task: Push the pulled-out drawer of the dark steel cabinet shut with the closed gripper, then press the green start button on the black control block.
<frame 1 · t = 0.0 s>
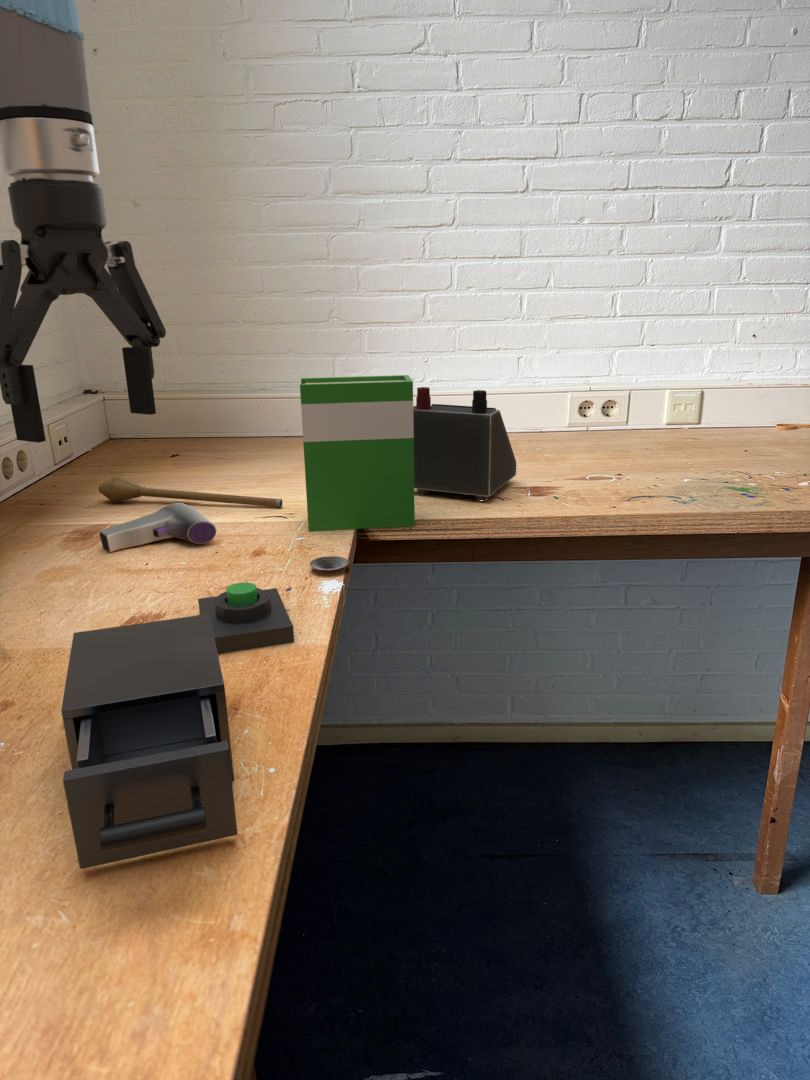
hand: (91, 426, 76), 28 cm above the table, tool pointing down, fingers open, 13 cm apart
control block: (245, 628, 98), on the table
green cereal box: (361, 522, 136), on the table
drawer: (153, 773, 63), point 5 cm above the table, slide at 7.0 cm
small grey dish: (329, 571, 115), on the table
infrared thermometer: (160, 546, 127), on the table
panzerfaust: (190, 505, 147), on the table
start button: (241, 594, 96), point 4 cm above the table, slide at 0.1 cm
voltmeter: (463, 489, 155), on the table
cabinet: (156, 748, 74), on the table
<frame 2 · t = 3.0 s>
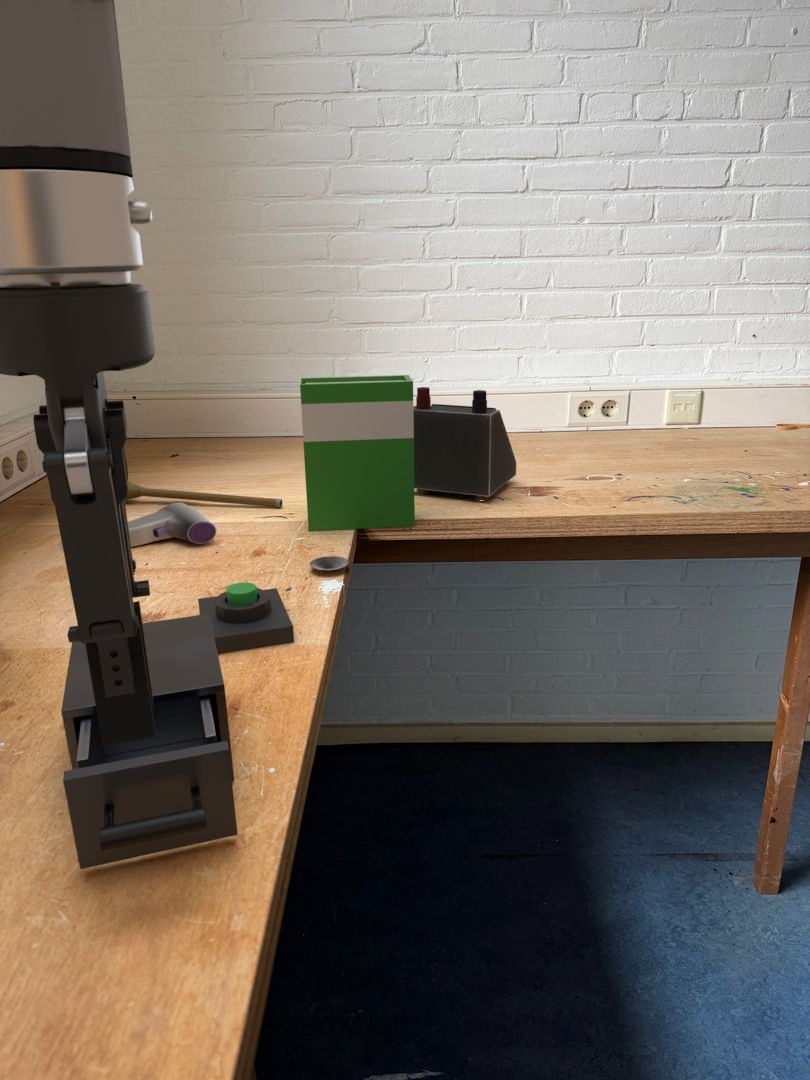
hand: (129, 723, 44), 18 cm above the table, tool pointing down, fingers open, 2 cm apart
nothing on the table moved.
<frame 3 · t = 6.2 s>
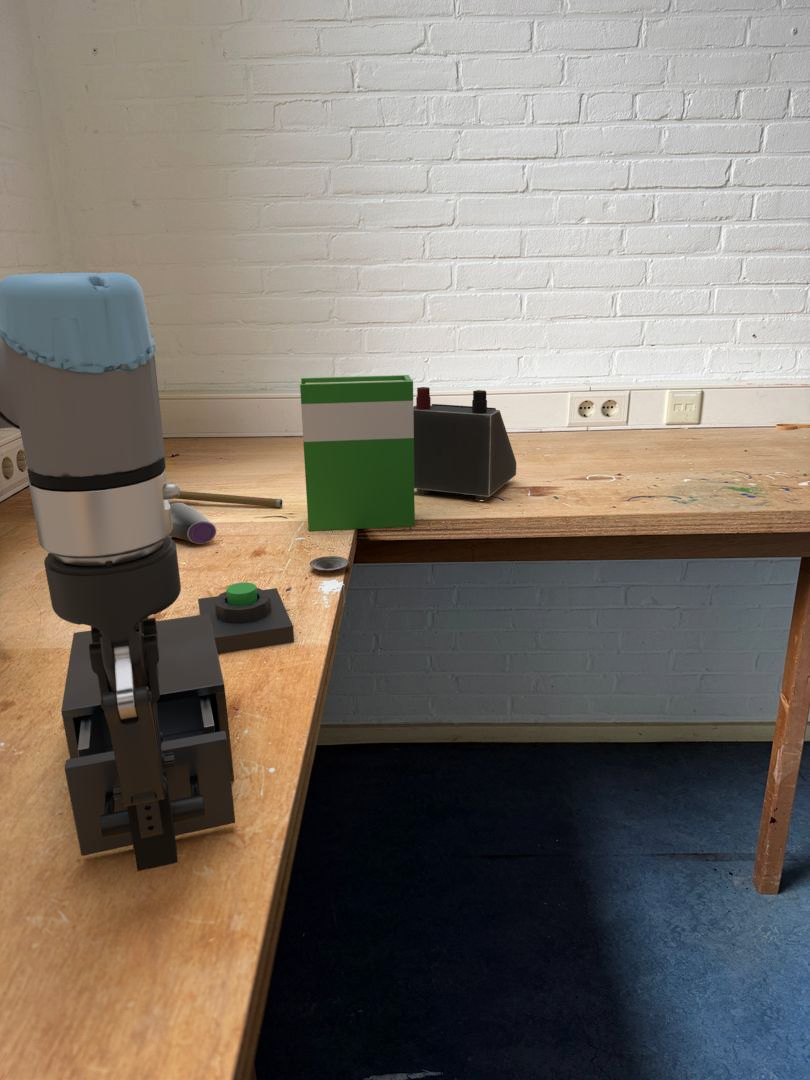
hand: (157, 859, 56), 3 cm above the table, tool pointing down, fingers closed
drawer: (152, 762, 64), point 5 cm above the table, slide at 5.6 cm, touching gripper
everything else where it was.
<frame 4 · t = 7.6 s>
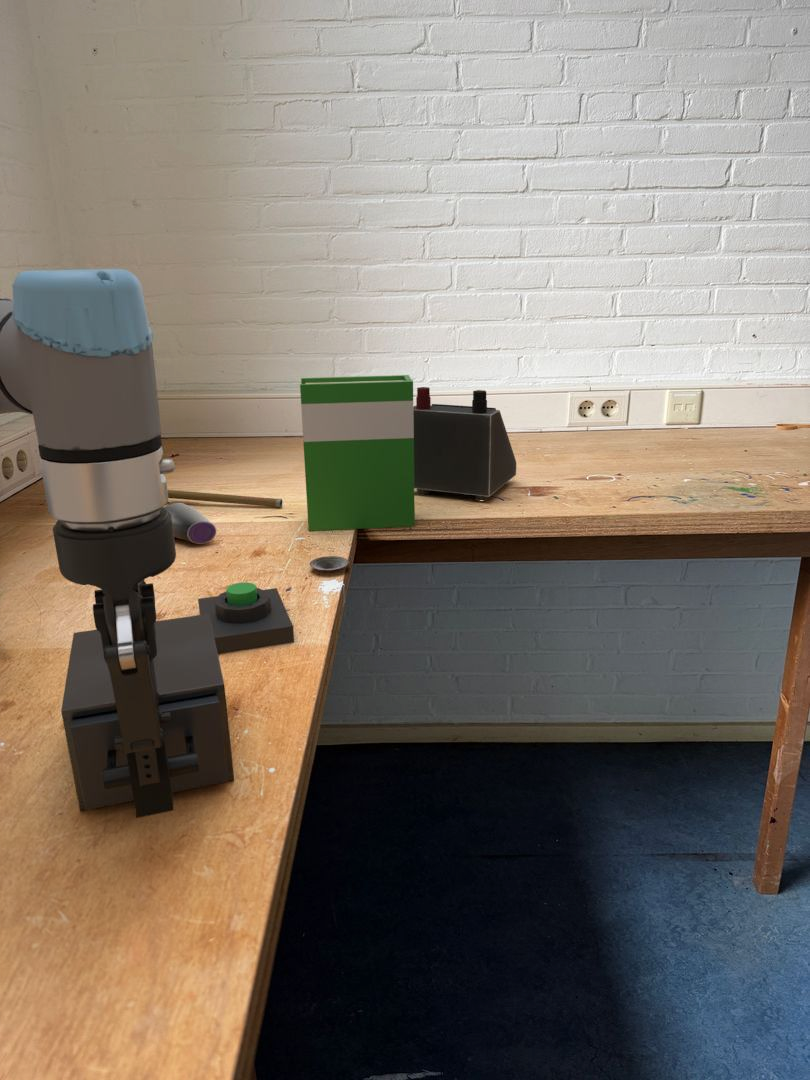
hand: (154, 808, 61), 3 cm above the table, tool pointing down, fingers closed
drawer: (151, 726, 69), point 5 cm above the table, slide at 0.0 cm, touching cabinet, gripper
everything else where it was.
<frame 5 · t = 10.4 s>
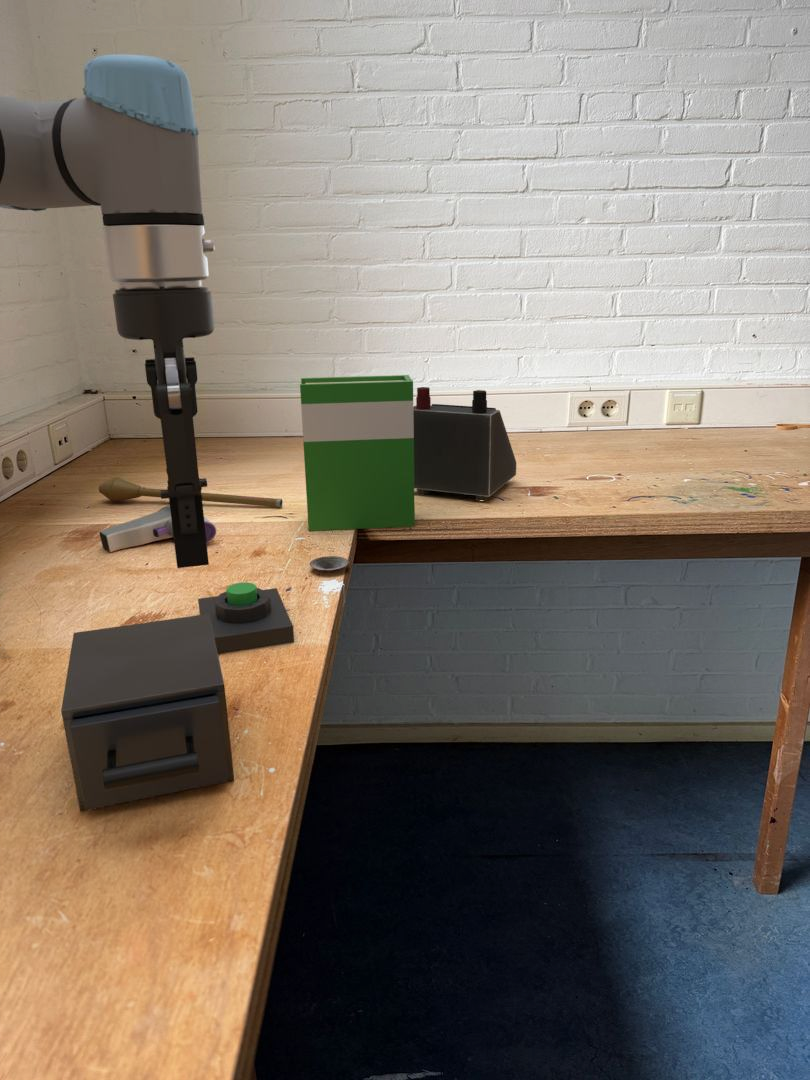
hand: (192, 563, 71), 17 cm above the table, tool pointing down, fingers closed
drawer: (151, 726, 69), point 5 cm above the table, slide at 0.0 cm
everything else where it was.
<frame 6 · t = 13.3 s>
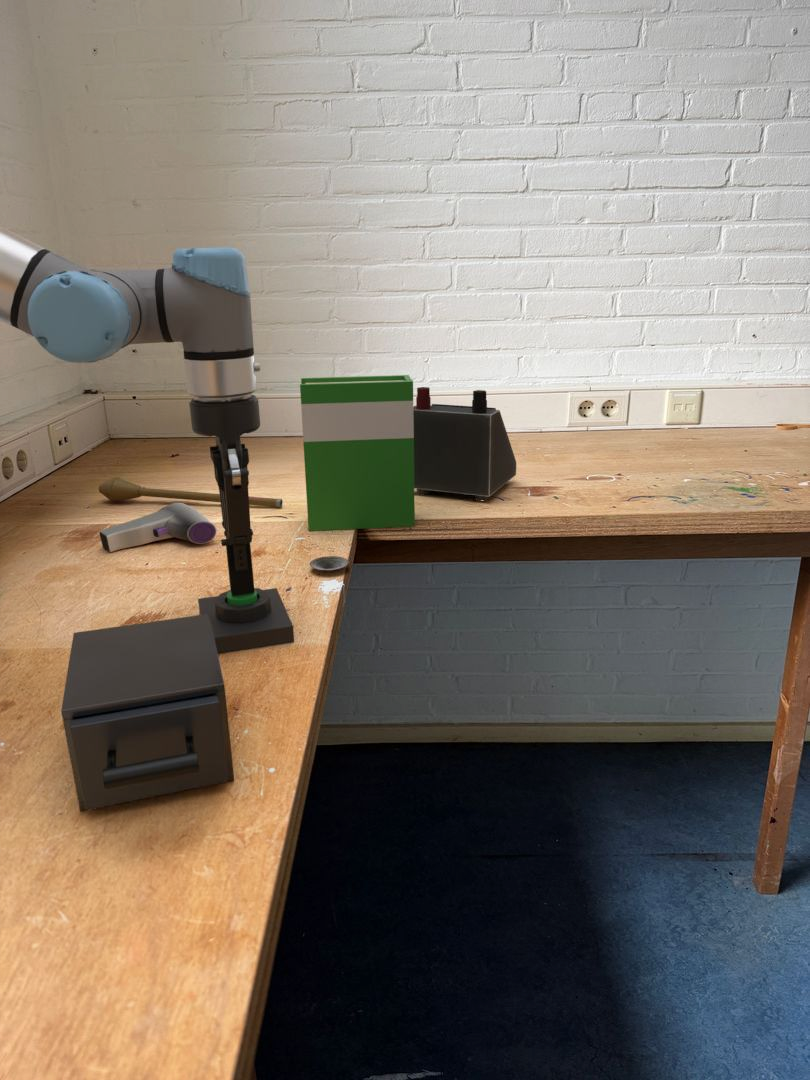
hand: (242, 591, 96), 5 cm above the table, tool pointing down, fingers closed
start button: (242, 600, 97), point 4 cm above the table, slide at -0.7 cm, touching gripper
everything else where it was.
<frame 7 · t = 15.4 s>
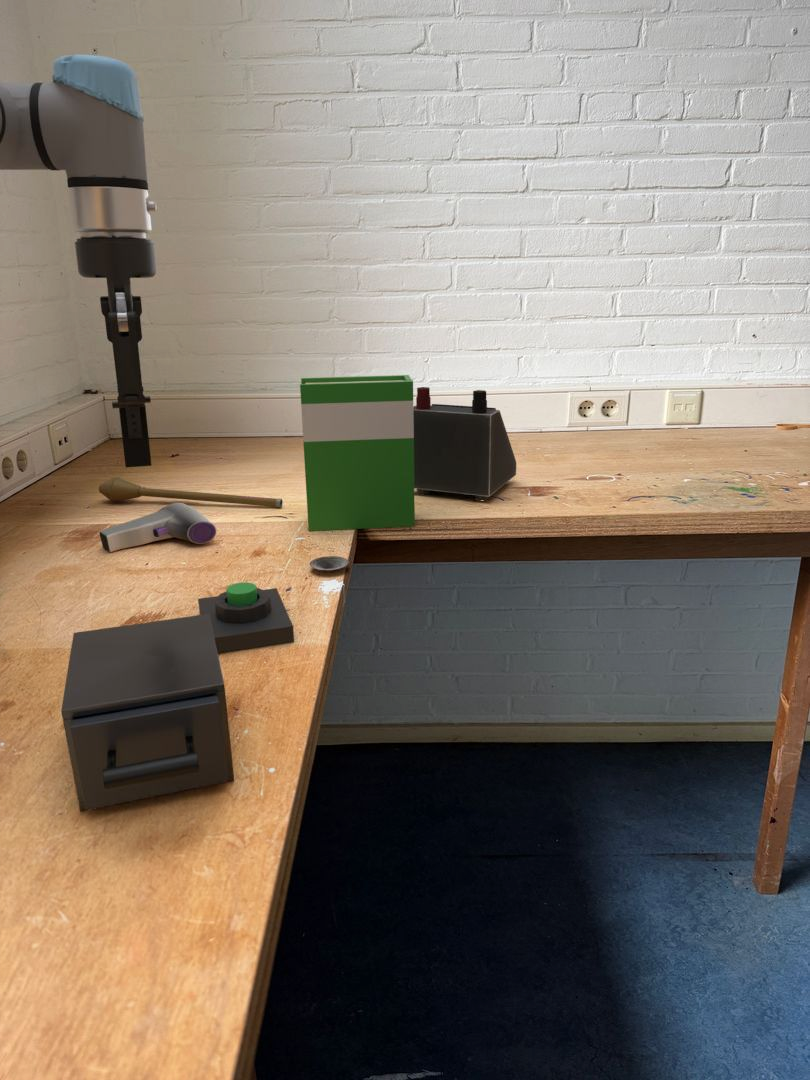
hand: (138, 464, 88), 21 cm above the table, tool pointing down, fingers closed
start button: (241, 594, 96), point 4 cm above the table, slide at 0.1 cm
everything else where it was.
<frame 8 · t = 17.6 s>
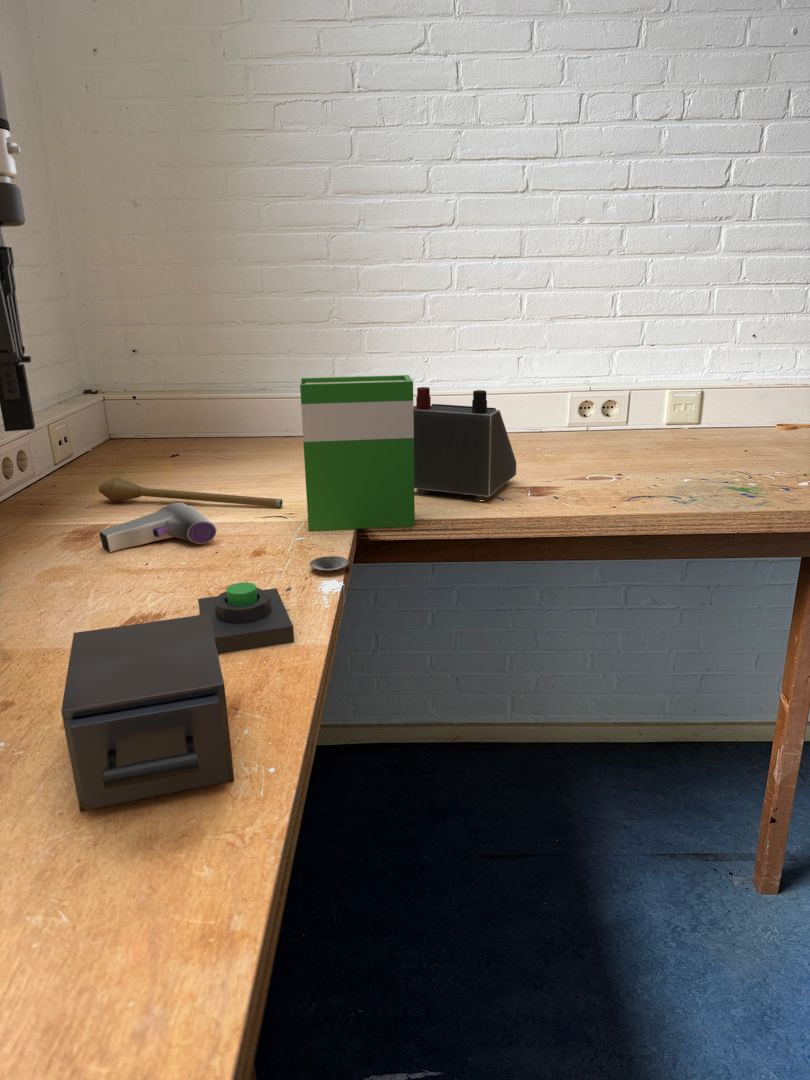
hand: (20, 428, 83), 26 cm above the table, tool pointing down, fingers closed
nothing on the table moved.
at the end: drawer slide at 0.0 cm; start button pushed in 1.0 cm at the most during the clip, back to where it started at the end; start button slide at 0.1 cm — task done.
